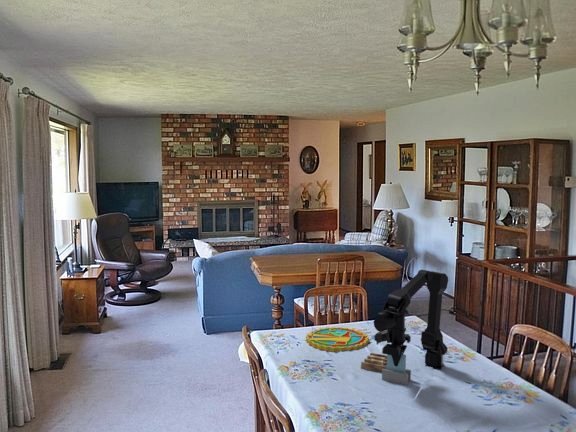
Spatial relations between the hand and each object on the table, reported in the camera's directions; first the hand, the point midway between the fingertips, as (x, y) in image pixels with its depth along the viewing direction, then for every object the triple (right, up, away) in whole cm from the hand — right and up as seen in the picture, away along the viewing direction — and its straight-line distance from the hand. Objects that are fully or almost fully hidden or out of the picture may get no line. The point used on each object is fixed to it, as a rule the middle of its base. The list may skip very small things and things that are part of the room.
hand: (396, 365), depth 197 cm
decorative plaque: (-19, -2, +46) cm, 50 cm away
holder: (0, -6, +1) cm, 6 cm away
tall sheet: (0, -6, +1) cm, 6 cm away
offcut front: (-5, -4, +15) cm, 16 cm away
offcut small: (-6, -5, +11) cm, 13 cm away
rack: (-5, -5, +15) cm, 17 cm away
